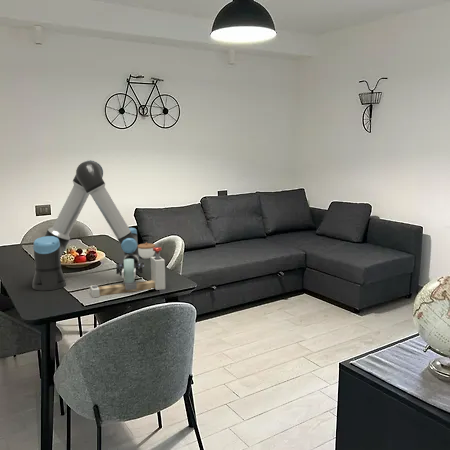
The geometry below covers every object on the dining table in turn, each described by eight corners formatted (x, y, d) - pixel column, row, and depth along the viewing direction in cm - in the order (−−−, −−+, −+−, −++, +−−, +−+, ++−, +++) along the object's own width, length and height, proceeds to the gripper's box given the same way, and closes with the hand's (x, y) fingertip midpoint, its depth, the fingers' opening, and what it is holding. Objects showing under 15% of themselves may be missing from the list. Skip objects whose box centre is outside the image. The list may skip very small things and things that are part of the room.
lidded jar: (147, 254, 287) (147, 240, 286) (159, 257, 280) (158, 242, 279) (134, 257, 279) (133, 242, 277) (145, 260, 272) (145, 245, 271)
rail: (99, 295, 208) (99, 289, 207) (97, 293, 211) (97, 286, 211) (154, 288, 218) (154, 282, 217) (152, 286, 222) (152, 280, 221)
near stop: (92, 297, 205) (92, 288, 204) (90, 293, 211) (90, 284, 211) (99, 296, 206) (99, 287, 205) (97, 292, 212) (96, 283, 212)
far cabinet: (156, 290, 216) (155, 261, 213) (151, 284, 224) (150, 256, 221) (165, 288, 217) (164, 260, 215) (160, 283, 226) (159, 256, 223)
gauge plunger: (154, 272, 217) (154, 249, 215) (152, 270, 220) (152, 247, 218) (163, 271, 218) (162, 248, 216) (160, 269, 222) (160, 246, 220)
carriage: (125, 290, 211) (124, 261, 209) (123, 286, 217) (121, 258, 214) (136, 288, 213) (135, 260, 211) (133, 285, 219) (132, 257, 216)
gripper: (148, 268, 233) (148, 282, 210) (113, 270, 230) (109, 283, 207) (148, 254, 232) (148, 266, 209) (112, 255, 229) (108, 267, 206)
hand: (128, 275), depth 208 cm, fingers closed on carriage, 5 cm apart
